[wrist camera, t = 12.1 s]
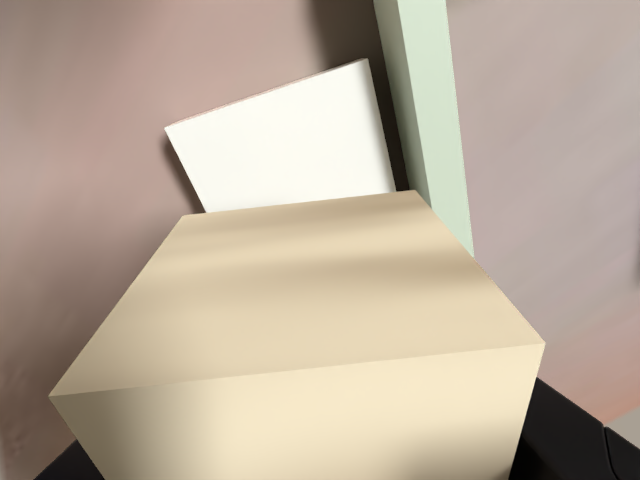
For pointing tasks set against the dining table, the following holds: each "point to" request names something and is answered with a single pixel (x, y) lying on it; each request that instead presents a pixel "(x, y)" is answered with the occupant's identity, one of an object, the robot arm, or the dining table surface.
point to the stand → (289, 144)
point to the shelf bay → (426, 106)
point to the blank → (306, 352)
